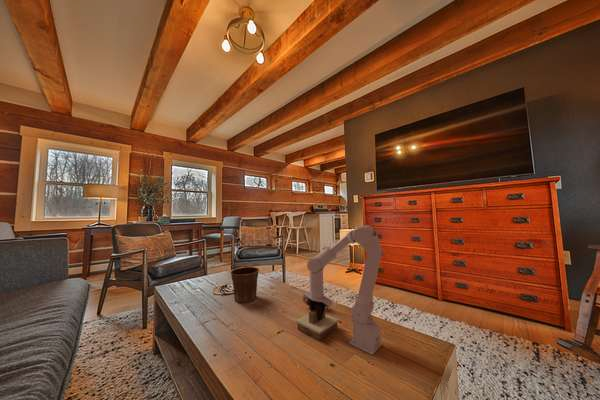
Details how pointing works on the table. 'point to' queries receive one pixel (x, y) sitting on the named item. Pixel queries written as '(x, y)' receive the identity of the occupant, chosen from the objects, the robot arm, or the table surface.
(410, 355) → the table surface
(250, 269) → the plant pot
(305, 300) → the lion figurine
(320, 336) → the wooden tray
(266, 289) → the table surface
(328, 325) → the lid
